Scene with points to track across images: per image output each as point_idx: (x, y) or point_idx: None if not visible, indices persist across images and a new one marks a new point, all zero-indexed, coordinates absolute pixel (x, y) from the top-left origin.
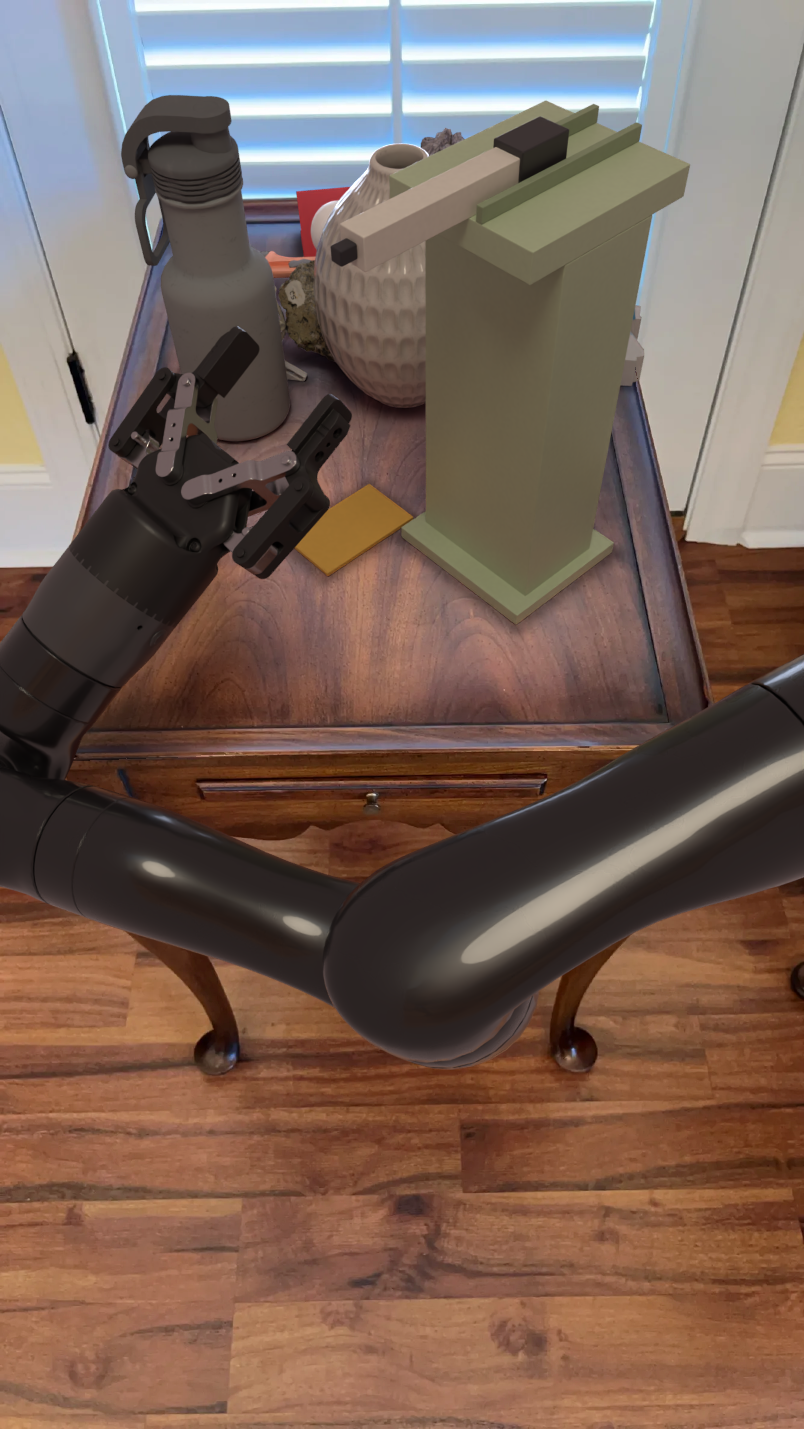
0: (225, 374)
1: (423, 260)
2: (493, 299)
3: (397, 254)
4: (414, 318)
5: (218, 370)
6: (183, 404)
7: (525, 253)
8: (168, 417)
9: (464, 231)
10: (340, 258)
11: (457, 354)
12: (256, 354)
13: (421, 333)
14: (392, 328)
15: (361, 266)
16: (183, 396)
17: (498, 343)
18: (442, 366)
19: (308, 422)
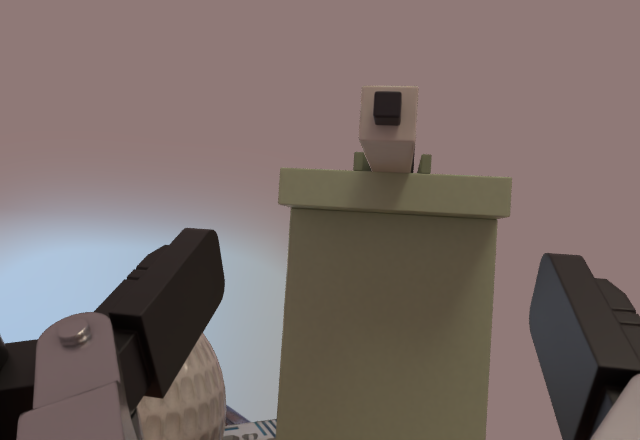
0: (177, 325)
1: (185, 362)
2: (393, 294)
3: (413, 152)
4: (181, 421)
5: (170, 304)
6: (81, 391)
7: (501, 181)
8: (27, 437)
9: (402, 190)
10: (400, 101)
11: (334, 384)
12: (218, 301)
13: (187, 437)
14: (157, 437)
15: (407, 135)
16: (74, 369)
17: (403, 344)
18: (307, 411)
19: (582, 302)
